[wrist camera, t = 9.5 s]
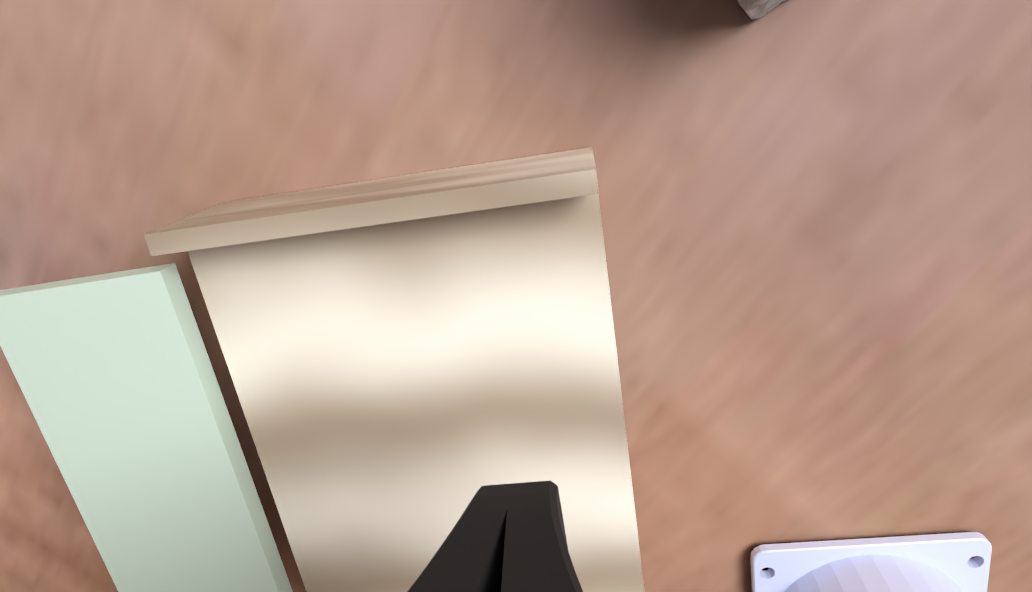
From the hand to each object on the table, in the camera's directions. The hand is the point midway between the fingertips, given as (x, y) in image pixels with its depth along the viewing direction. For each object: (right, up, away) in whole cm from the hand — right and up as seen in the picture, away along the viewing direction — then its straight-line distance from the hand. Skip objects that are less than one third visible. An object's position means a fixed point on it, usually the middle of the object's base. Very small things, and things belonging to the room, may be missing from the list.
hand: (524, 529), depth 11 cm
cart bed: (-3, 0, +11) cm, 12 cm away
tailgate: (-9, -1, +10) cm, 13 cm away
